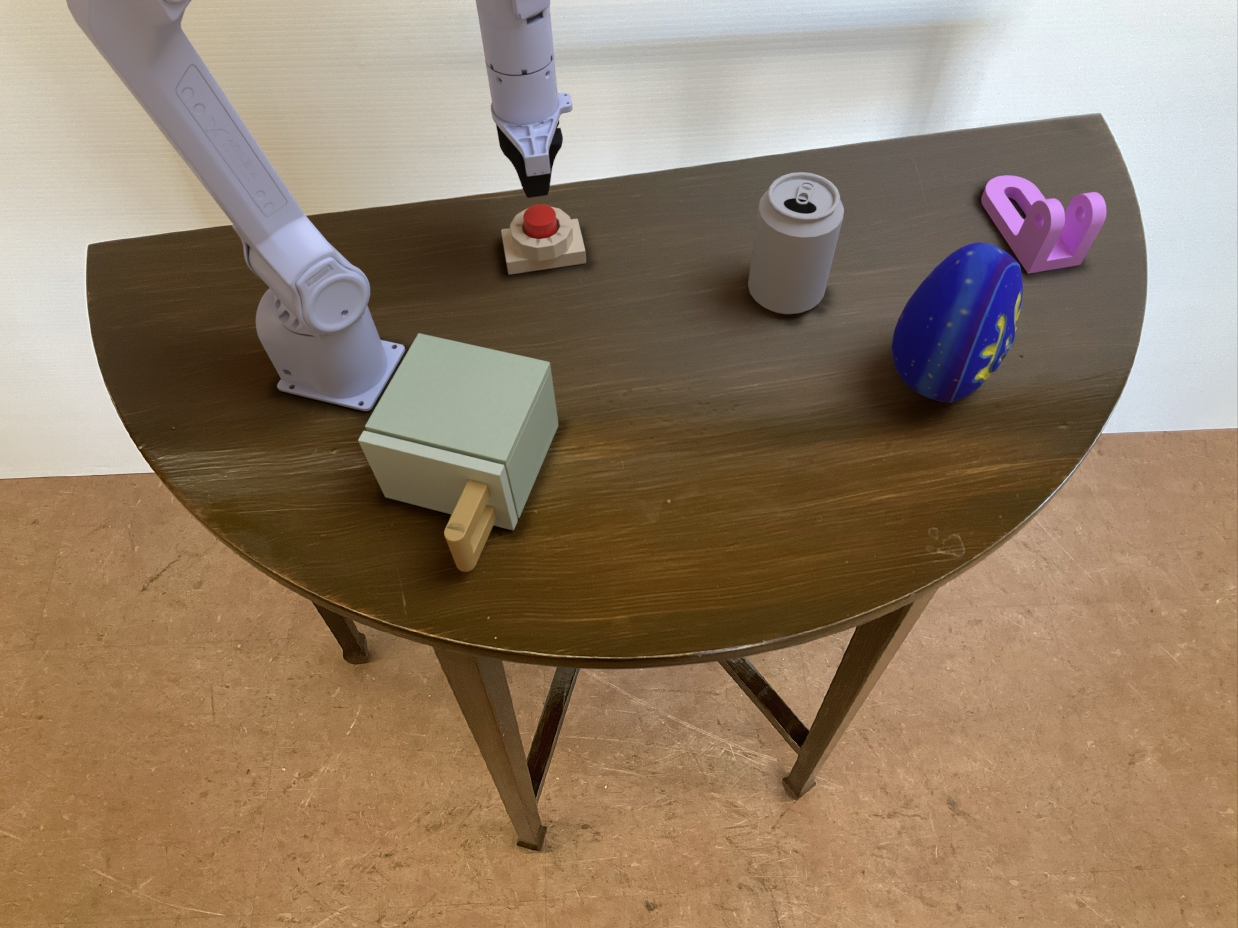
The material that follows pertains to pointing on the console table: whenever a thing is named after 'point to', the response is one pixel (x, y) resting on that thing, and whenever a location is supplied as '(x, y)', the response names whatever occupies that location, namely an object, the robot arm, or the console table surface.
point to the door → (445, 490)
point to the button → (540, 221)
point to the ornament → (959, 323)
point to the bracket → (1043, 223)
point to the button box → (543, 245)
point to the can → (795, 242)
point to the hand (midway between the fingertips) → (536, 191)
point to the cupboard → (473, 407)
